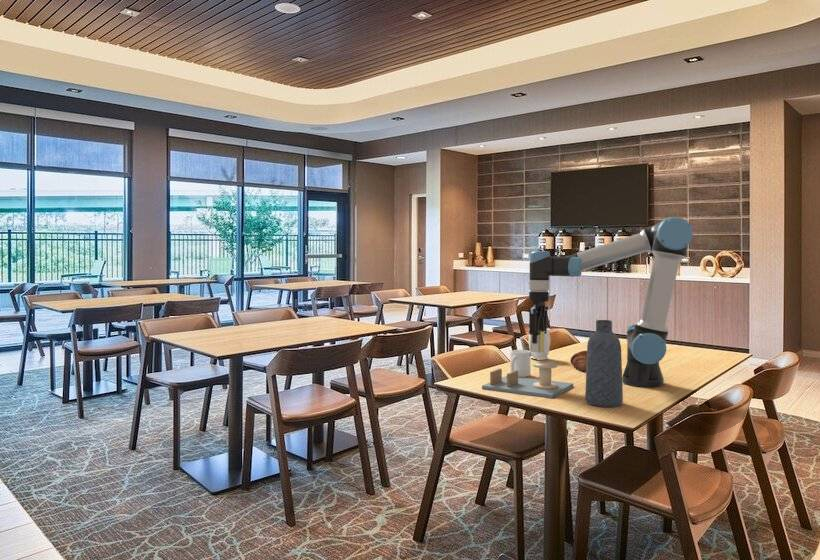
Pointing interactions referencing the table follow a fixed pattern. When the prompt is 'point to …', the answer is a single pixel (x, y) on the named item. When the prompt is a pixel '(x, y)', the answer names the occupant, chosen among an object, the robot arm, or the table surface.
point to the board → (528, 382)
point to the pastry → (580, 360)
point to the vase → (604, 367)
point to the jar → (546, 347)
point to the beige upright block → (541, 341)
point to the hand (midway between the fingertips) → (537, 350)
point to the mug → (520, 362)
